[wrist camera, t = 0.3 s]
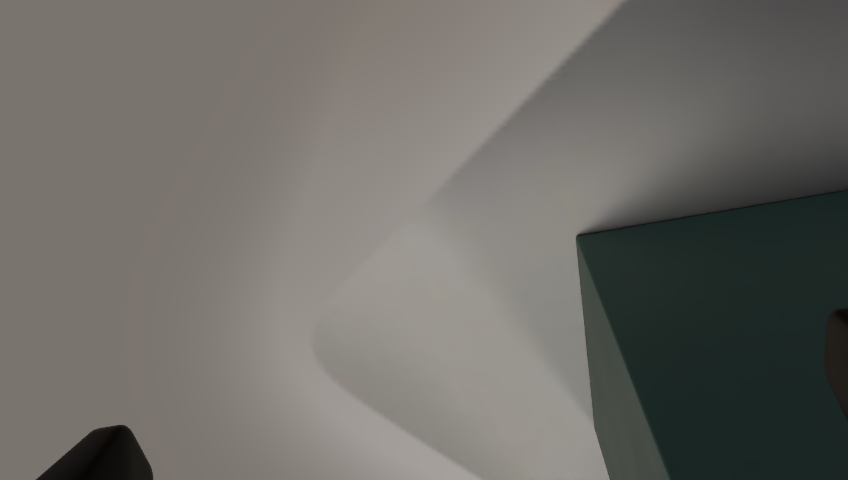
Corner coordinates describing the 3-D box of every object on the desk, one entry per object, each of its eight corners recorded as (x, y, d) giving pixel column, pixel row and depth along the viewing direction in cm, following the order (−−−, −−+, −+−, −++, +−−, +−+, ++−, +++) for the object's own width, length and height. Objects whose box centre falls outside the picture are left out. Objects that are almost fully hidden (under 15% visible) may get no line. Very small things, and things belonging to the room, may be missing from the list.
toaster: (886, 384, 25) (1138, 689, 17) (594, 428, 26) (687, 740, 17) (922, 176, 21) (1278, 433, 13) (575, 235, 22) (683, 515, 13)
